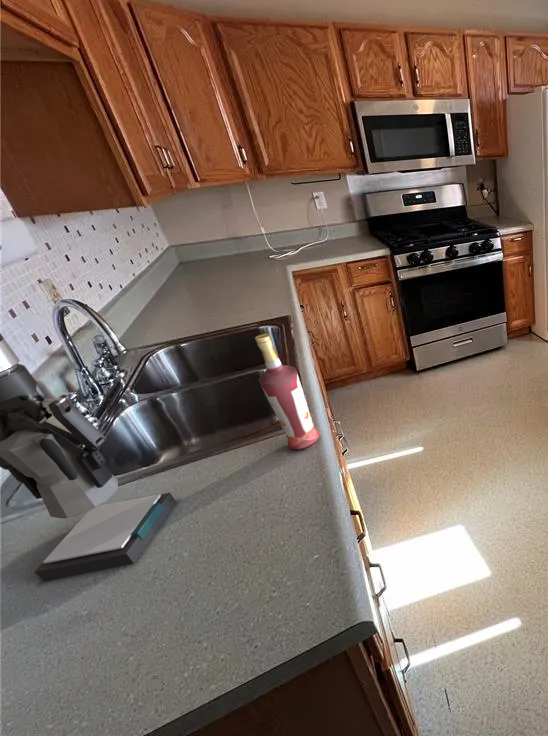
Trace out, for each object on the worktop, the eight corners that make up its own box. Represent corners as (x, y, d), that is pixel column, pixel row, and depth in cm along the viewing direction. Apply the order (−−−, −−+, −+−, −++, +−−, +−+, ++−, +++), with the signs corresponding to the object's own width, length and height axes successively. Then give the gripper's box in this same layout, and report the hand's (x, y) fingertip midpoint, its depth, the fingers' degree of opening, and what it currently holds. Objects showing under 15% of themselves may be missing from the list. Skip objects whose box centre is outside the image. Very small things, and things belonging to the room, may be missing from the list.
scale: (43, 581, 70) (30, 569, 68) (99, 515, 82) (90, 503, 80) (135, 563, 72) (125, 550, 70) (177, 501, 84) (169, 489, 82)
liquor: (323, 445, 96) (282, 337, 83) (289, 458, 93) (241, 348, 80) (319, 429, 102) (281, 325, 88) (287, 440, 99) (242, 335, 86)
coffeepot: (39, 503, 73) (-33, 422, 64) (105, 469, 80) (49, 391, 71) (68, 539, 65) (-9, 451, 57) (139, 497, 72) (80, 413, 64)
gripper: (85, 351, 65) (155, 460, 75) (-72, 373, 62) (24, 483, 73) (47, 375, 58) (130, 491, 69) (-131, 401, 55) (-16, 517, 66)
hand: (75, 487), depth 71 cm, fingers closed on coffeepot, 8 cm apart
